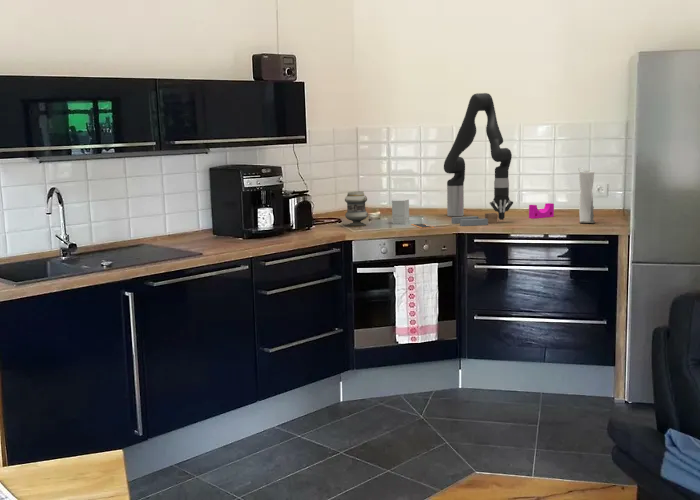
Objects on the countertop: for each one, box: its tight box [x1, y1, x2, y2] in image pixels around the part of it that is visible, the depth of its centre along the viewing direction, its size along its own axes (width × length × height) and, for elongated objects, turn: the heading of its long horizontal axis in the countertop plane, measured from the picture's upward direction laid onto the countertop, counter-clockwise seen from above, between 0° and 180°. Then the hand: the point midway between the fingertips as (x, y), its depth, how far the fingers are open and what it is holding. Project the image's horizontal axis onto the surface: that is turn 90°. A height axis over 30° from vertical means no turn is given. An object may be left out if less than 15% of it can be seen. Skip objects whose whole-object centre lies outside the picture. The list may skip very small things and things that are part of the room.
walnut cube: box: [484, 212, 498, 225], centre depth 419 cm, size 5×5×5 cm
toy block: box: [528, 202, 555, 220], centre depth 441 cm, size 15×6×8 cm, turn 122°
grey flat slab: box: [450, 215, 489, 227], centre depth 416 cm, size 16×14×3 cm
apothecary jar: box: [344, 190, 369, 228], centre depth 419 cm, size 12×12×18 cm
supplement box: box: [391, 198, 410, 225], centre depth 427 cm, size 7×7×13 cm
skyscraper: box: [578, 167, 596, 224], centre depth 411 cm, size 8×8×28 cm
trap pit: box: [410, 223, 436, 229], centre depth 411 cm, size 18×7×1 cm, turn 12°
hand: (501, 219), depth 420 cm, fingers closed
